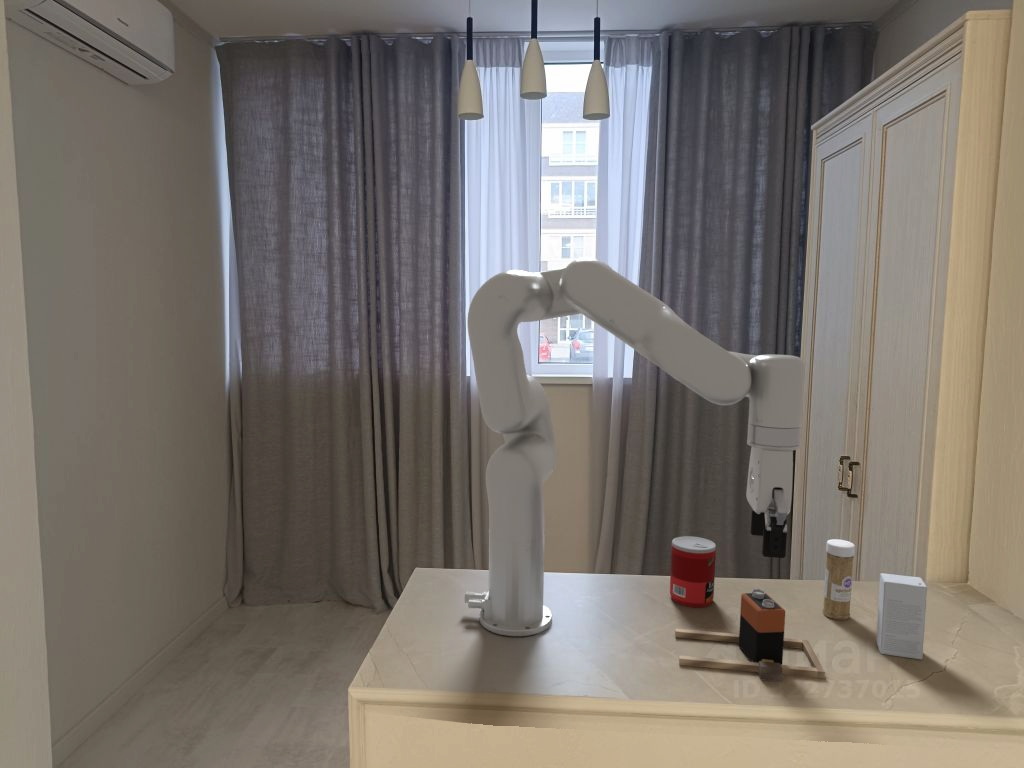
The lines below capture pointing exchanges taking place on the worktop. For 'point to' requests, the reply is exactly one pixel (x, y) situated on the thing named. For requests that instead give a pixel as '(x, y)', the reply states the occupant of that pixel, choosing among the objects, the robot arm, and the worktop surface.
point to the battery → (761, 627)
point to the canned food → (692, 571)
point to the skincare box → (901, 615)
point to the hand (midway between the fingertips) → (766, 545)
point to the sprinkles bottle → (838, 579)
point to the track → (764, 667)
